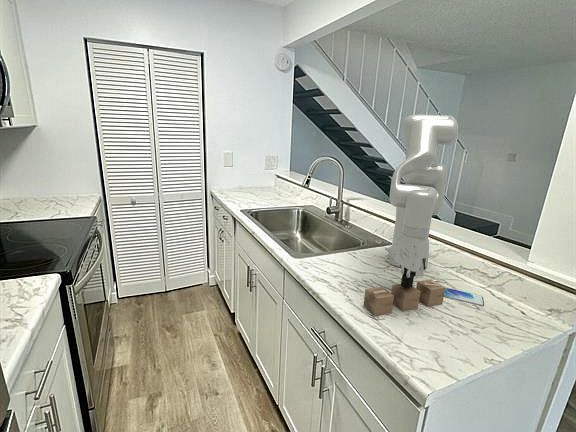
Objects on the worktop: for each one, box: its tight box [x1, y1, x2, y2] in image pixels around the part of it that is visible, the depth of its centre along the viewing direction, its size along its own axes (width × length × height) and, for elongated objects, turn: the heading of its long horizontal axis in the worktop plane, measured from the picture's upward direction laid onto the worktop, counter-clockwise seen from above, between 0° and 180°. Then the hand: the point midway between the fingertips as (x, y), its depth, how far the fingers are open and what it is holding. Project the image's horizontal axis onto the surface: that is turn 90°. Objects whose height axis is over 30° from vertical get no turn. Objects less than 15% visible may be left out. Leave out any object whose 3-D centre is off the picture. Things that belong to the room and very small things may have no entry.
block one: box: [363, 286, 394, 317], centre depth 96 cm, size 6×6×6 cm
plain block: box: [390, 283, 421, 312], centre depth 100 cm, size 6×6×6 cm
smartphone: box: [444, 286, 485, 307], centre depth 108 cm, size 7×1×15 cm
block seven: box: [415, 278, 446, 307], centre depth 103 cm, size 6×6×6 cm
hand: (406, 286), depth 99 cm, fingers closed
